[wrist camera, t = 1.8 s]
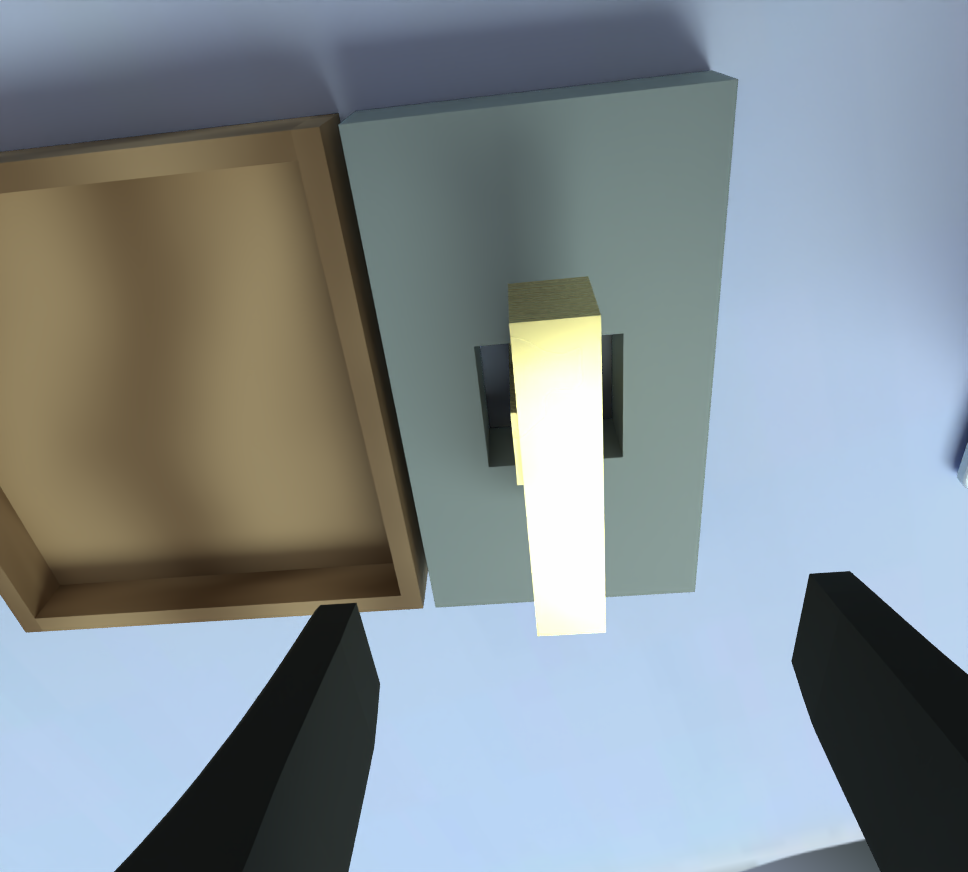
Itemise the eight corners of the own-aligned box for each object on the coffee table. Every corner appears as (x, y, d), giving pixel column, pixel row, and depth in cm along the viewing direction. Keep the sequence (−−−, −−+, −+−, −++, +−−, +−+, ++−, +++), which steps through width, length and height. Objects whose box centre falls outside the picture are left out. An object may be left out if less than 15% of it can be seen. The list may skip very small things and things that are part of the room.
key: (578, 220, 17) (612, 314, 12) (586, 481, 21) (613, 632, 16) (498, 228, 17) (498, 324, 12) (522, 485, 21) (529, 636, 16)
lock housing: (711, 70, 15) (738, 79, 13) (680, 547, 23) (694, 591, 21) (355, 111, 16) (338, 124, 14) (440, 563, 23) (435, 607, 21)
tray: (338, 112, 16) (318, 126, 14) (428, 564, 23) (423, 608, 21) (-193, 173, 17) (-272, 193, 15) (58, 588, 24) (25, 632, 22)
